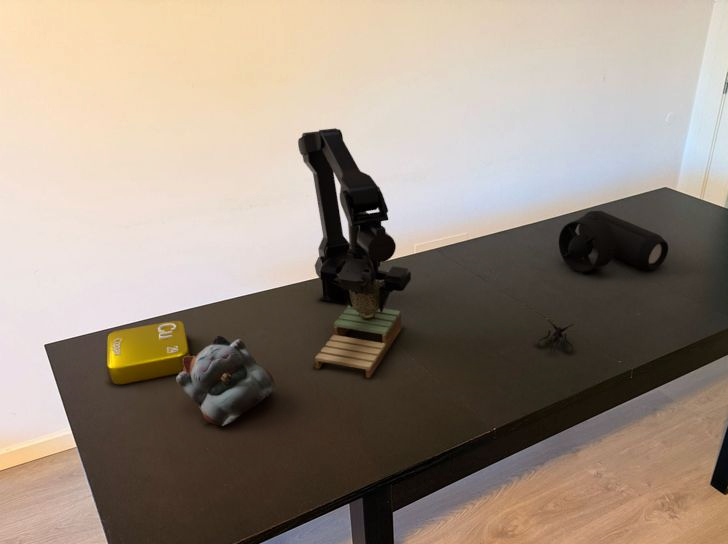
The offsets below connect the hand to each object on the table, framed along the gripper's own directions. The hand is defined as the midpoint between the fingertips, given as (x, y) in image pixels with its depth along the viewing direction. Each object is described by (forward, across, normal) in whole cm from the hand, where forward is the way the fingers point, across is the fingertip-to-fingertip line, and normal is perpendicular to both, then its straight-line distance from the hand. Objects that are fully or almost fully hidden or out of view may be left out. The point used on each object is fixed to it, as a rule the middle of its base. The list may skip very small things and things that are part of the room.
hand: (366, 308), depth 143 cm
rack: (+7, 0, -5) cm, 9 cm away
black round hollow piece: (+7, +42, +48) cm, 64 cm away
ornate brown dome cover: (+2, 0, 0) cm, 2 cm away
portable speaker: (+7, +52, +61) cm, 80 cm away
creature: (+7, +41, +8) cm, 42 cm away
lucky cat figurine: (+7, -16, -31) cm, 36 cm away
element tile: (+7, -40, -22) cm, 46 cm away
